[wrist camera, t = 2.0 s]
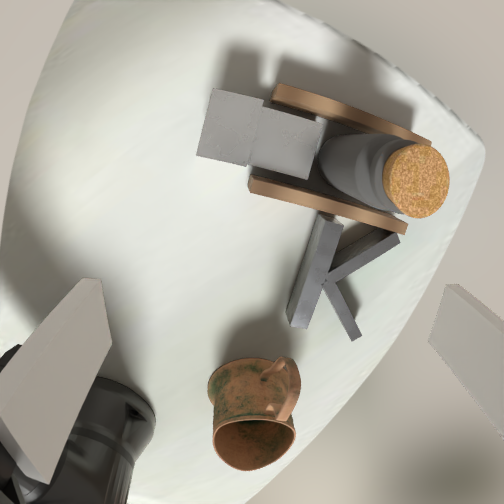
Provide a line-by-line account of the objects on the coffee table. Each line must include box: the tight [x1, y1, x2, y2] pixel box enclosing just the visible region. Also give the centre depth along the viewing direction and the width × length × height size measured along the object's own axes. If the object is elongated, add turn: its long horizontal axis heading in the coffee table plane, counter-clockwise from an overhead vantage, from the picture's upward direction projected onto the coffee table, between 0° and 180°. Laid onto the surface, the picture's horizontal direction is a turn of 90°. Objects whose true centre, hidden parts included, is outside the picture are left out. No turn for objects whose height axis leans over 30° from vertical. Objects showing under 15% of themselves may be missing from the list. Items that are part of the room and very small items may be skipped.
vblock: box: [286, 214, 400, 341], centre depth 34 cm, size 9×14×3 cm, turn 166°
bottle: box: [318, 134, 449, 218], centre depth 24 cm, size 6×6×15 cm
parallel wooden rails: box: [248, 83, 432, 235], centre depth 29 cm, size 16×10×4 cm, turn 76°
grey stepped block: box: [196, 88, 323, 180], centre depth 27 cm, size 10×6×7 cm, turn 76°
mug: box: [207, 357, 301, 471], centre depth 34 cm, size 12×18×12 cm, turn 162°
